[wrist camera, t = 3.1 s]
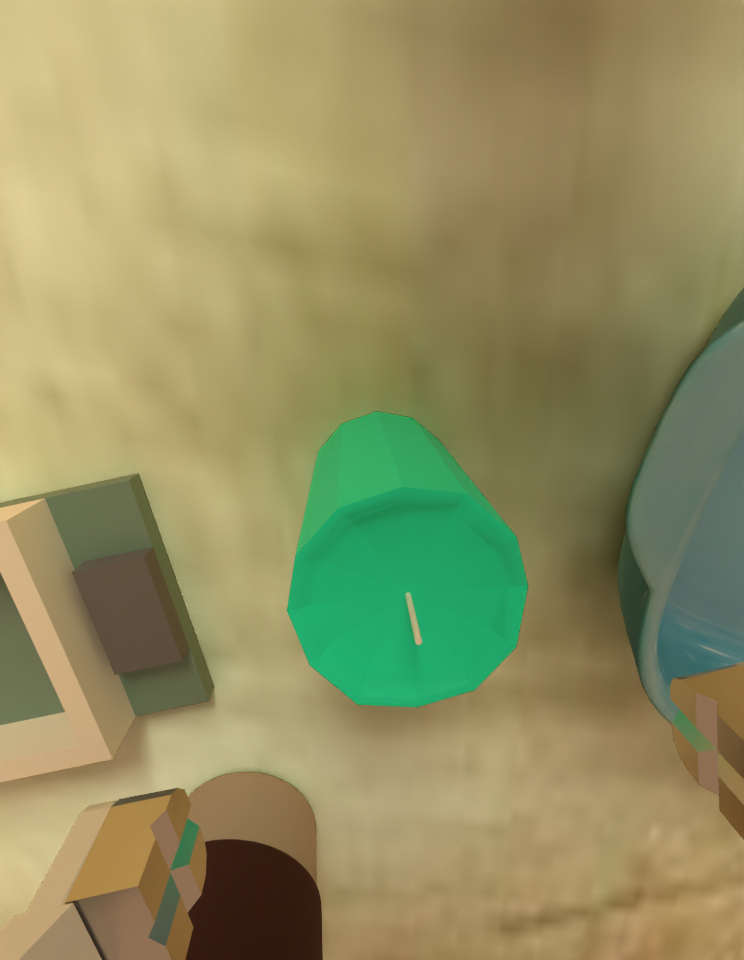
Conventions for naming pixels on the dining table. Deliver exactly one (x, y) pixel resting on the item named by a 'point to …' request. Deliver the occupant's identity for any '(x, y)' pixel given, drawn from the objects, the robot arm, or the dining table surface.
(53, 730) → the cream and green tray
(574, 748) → the dining table surface
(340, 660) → the candle
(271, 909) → the coffee cup
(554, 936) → the dining table surface
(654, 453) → the casserole dish
